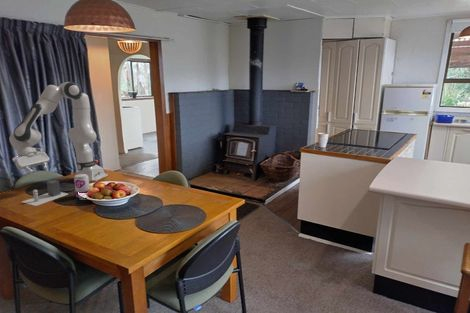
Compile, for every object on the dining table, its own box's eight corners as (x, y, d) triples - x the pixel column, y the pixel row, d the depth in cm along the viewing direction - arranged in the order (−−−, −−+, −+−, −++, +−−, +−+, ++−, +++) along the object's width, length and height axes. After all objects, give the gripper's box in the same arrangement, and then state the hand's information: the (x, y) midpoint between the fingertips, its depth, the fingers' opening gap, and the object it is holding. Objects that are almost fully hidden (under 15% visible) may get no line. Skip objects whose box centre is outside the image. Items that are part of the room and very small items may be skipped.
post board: (55, 192, 219) (53, 180, 217) (69, 196, 213) (67, 183, 211) (21, 204, 200) (19, 191, 197) (36, 208, 193) (34, 194, 191)
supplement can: (87, 200, 206) (84, 177, 202) (74, 200, 206) (71, 177, 202) (92, 195, 213) (90, 173, 210) (80, 195, 214) (77, 173, 210)
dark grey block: (55, 192, 214) (53, 180, 212) (60, 194, 212) (59, 181, 210) (48, 195, 210) (46, 182, 208) (53, 196, 208) (51, 183, 206)
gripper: (12, 154, 204) (24, 171, 202) (43, 148, 222) (55, 163, 220) (9, 160, 207) (21, 177, 205) (40, 153, 225) (51, 169, 223)
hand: (39, 170), depth 213 cm, fingers open, 8 cm apart
